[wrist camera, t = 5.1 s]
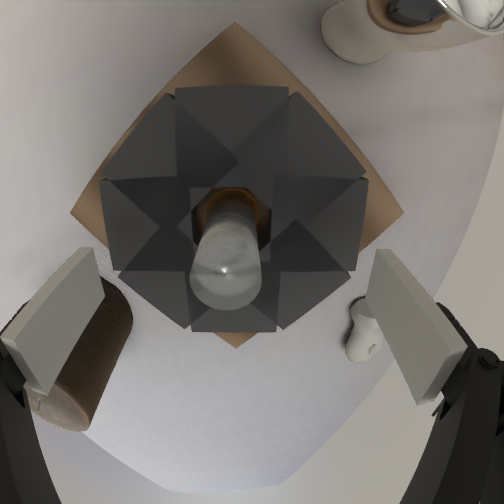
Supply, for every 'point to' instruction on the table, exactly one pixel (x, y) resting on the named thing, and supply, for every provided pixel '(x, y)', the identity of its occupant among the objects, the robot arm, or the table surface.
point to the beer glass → (407, 26)
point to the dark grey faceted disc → (234, 175)
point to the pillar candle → (86, 366)
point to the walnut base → (244, 73)
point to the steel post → (228, 252)
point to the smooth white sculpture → (363, 334)
